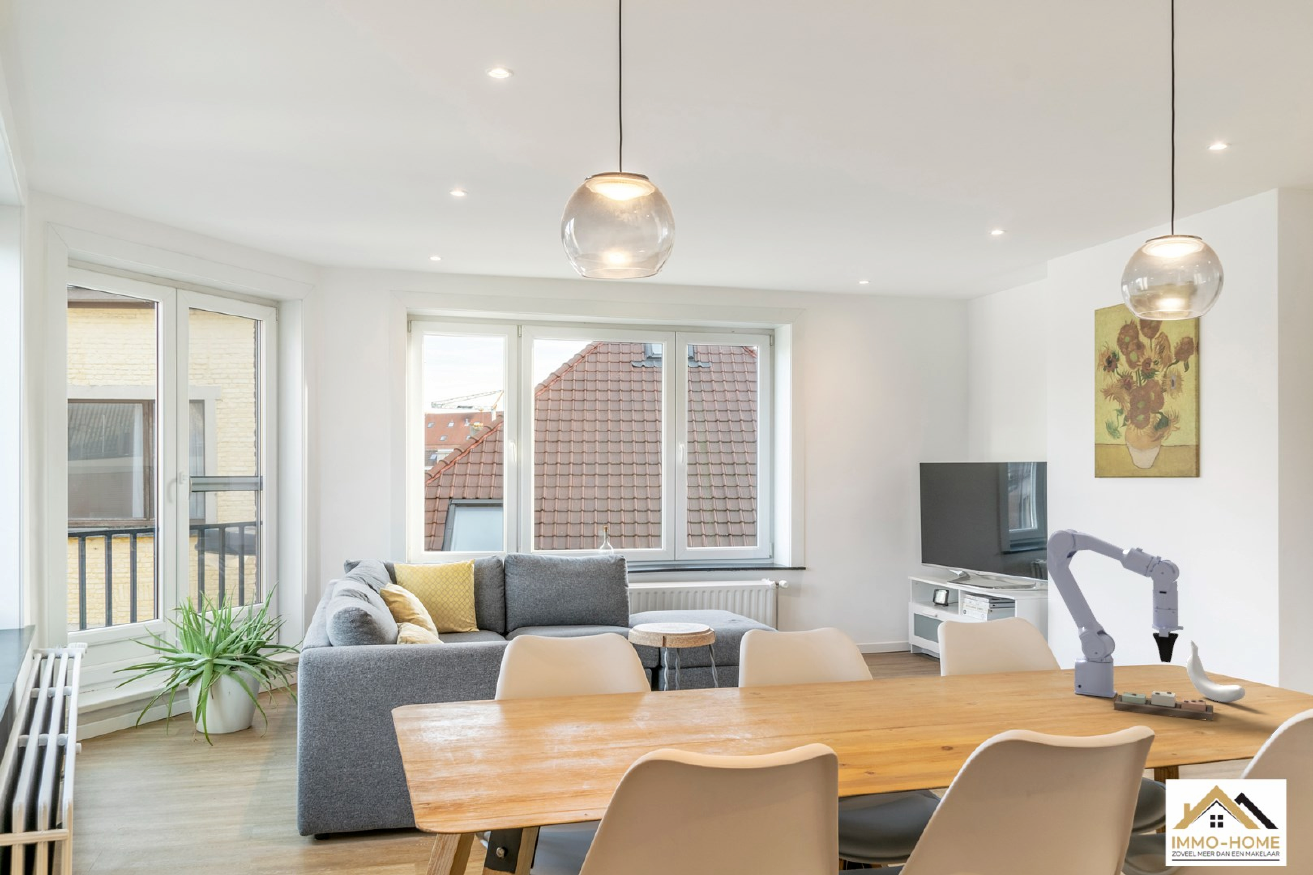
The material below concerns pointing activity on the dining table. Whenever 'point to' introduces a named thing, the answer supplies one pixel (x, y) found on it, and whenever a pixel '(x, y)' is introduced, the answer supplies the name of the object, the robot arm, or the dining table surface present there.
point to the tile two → (1163, 698)
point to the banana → (1210, 681)
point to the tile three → (1193, 704)
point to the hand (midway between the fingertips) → (1165, 661)
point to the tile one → (1134, 698)
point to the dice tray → (1163, 709)
